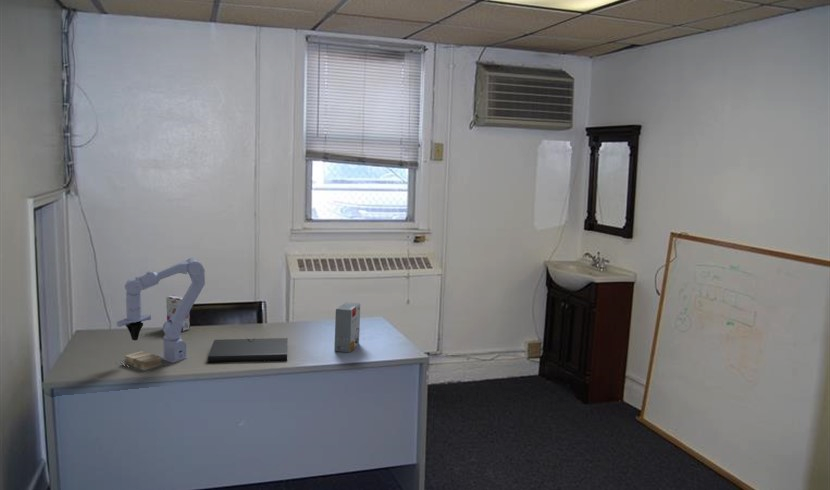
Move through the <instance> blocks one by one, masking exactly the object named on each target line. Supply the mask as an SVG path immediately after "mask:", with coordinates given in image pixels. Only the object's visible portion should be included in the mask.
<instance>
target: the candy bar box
mask: <svg viewBox="0 0 830 490" xmlns="http://www.w3.org/2000/svg"><path fill="white" fill-rule="evenodd" d="M183 297H184V296H180V295H174V294H173V295H169V296H166V322H167V321H168V320H169V319H170V317H171V316H172V315H174V313H175V311H176V309H177V308H178V306H179V304H180V303H181V301H182V299H183ZM190 311H191V310H190ZM190 311H189V313H188V315H187V316H186V318H185V320H184V324H183V327H182V329H181V333H182V332H188V331H190V330H191V328H190V327H191V326H190V325H191V324H190V323H191V321H190V320H191V319H190Z"/></svg>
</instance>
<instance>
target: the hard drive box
mask: <svg viewBox="0 0 830 490" xmlns="http://www.w3.org/2000/svg"><path fill="white" fill-rule="evenodd" d="M334 318H335V322H334V323H335V325H334V345H333V346H334V351H335V352H341V353H342V352H343V353H351V352H352V351H353V350H354V349H355V348H356V347H357V346H358V345H359V344H360V324H361V321H360V320H361V303H358V302H351V301H349V302H348V301H347V302H344V303H343V304H341V305H340V306H339V307H337V308H335V317H334Z"/></svg>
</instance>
